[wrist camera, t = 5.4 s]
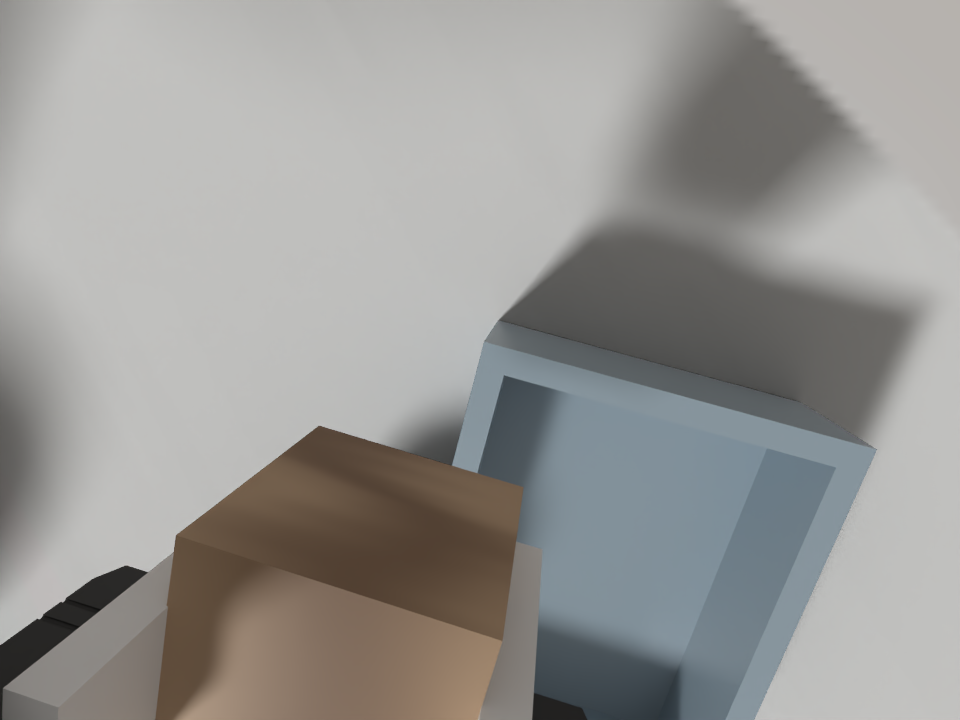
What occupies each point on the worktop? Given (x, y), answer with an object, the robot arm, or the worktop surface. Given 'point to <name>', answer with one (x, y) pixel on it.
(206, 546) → the walnut cube
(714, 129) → the worktop surface
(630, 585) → the tote
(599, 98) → the worktop surface
